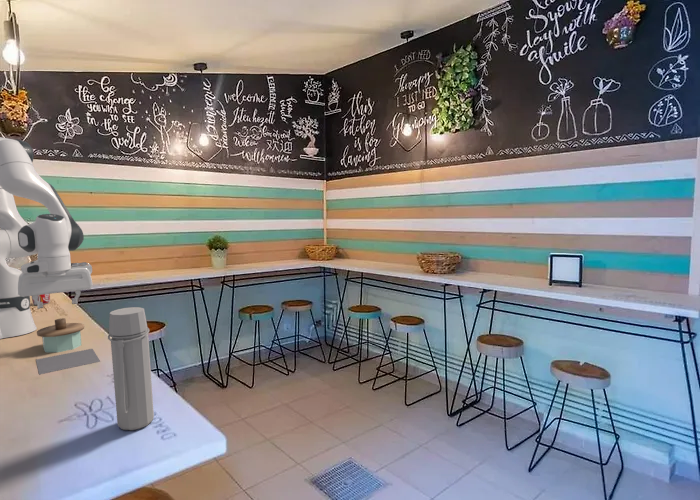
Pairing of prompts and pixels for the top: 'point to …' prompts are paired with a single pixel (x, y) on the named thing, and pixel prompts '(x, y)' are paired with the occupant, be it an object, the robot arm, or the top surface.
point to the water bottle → (131, 367)
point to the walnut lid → (60, 329)
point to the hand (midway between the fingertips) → (57, 305)
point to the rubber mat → (66, 361)
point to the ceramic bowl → (62, 342)
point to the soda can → (42, 299)
